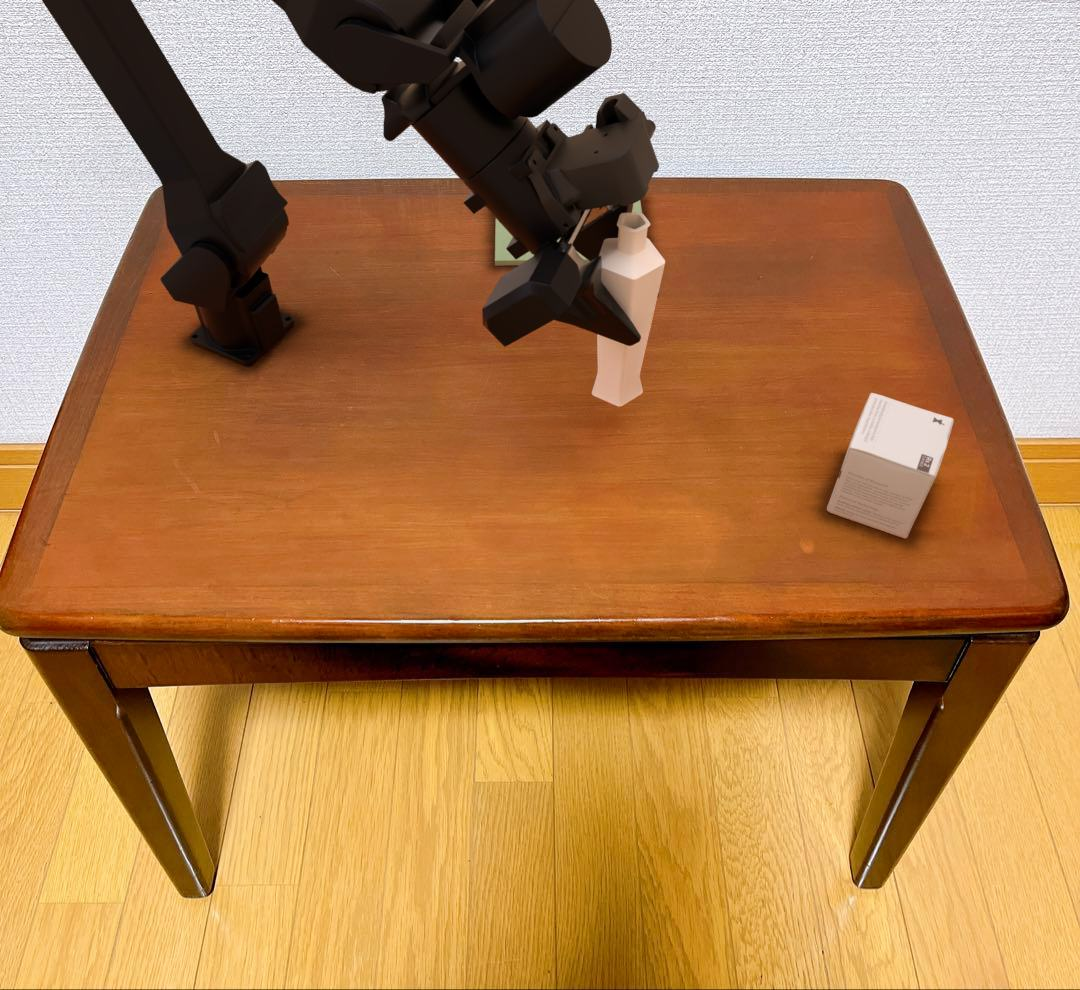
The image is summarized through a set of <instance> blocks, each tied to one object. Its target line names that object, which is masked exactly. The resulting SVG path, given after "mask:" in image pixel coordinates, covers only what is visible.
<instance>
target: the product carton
mask: <svg viewBox="0 0 1080 990" xmlns="http://www.w3.org/2000/svg"><path fill="white" fill-rule="evenodd" d="M954 421H955V420H954V418H953V417H950V416H947V415H944V414H940V413H937V412H933V411H930V410H927V409H924V408H921V407H918V406H915V405H912V404H910V403H909V404H908V403H905V402H902V401H900V400H896V399H894V398H891V397H888V396H885V395H882V394H879V393H875V392H870V393H869V396H868V398H867V400H866V401H865V405H864V407H863V409H862V411H861V414H860V416H859V418H858V421H857V423H856V426H855V429H854V431H853V433H852V436H851V438H850V442H849V445H848V448H847V451H846V453H845V456H844V459H843V462H842V465H841V467H840V470H839V473H838V476H837V479H836V482H835V484H834V487H833V490H832V493H831V495H830V499H829V501H828V503H827V507H826V511H827V512H828V513H830V514H832V515H835V516H838V517H841V518H844V519H847V520H850V521H852V522H856V523H858V524H861V525H864V526H867V527H870V528H873V529H876V530H879V531H882V532H885V533H887V534H891V535H892V536H896V537H899V538H902V539H908V537H909V535H910V533H911V531H912V528H913V526H914V523H915V522H916V520H917V517H918V515H919V513H920V511H921V509H922V507H923V505H924V503H925V501H926V498H927V497H928V494H929V492H930V490H931V488H932V486H933V484H934V482H935V480H936V478H937V476H938V473H939V471H940V467H941V464H942V461H943V459H944V456H945V452H946V449H947V447H948V443H949V439H950V436H951V433H952V429H953V426H954Z"/></svg>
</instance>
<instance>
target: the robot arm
mask: <svg viewBox="0 0 1080 990" xmlns="http://www.w3.org/2000/svg"><path fill="white" fill-rule="evenodd" d="M41 1H42V4H43V5H44V6H45V7H46V9H47V11H48V12H49V14H50V15H51V17H52V19H53V20H54V21H55V23H56V24H57V26H58V27H59V29H60V30H61V32H62V33H63V35H64V37H65V38H66V39H67V40H68V43H69V44H70V46H71V48H72V49H73V50H74V52H75V53H76V54H77V56H78V58H79V59H80V61H81V62H82V64H83V65H84V67H85V68H86V70H87V71H88V73H89V75H90V76H91V77H92V79H93V81H94V82H95V83H96V85H97V87H98V88H99V90H100V91H101V93H102V94H103V96H104V97H105V99H106V100H107V101H108V103H109V104H110V106H111V108H112V109H113V111H114V113H115V114H116V115H117V117H118V119H119V120H120V121H121V123H122V125H123V126H124V127H125V129H126V130H127V132H128V134H129V135H130V136H131V138H132V140H133V141H134V142H135V144H136V146H137V147H138V148H139V151H140V152H141V153H142V154H143V156H144V157H145V159H146V161H147V163H148V164H149V166H150V167H151V168H152V170H153V171H154V173H155V174H156V176H157V177H158V179H159V181H160V182H161V188H162V196H163V205H164V213H165V222H166V228H167V230H168V232H169V234H170V236H171V238H172V240H173V241H174V243H175V246H176V248H177V249H178V252H180V256H179V257H178V258H177V260H176V261H175V262H174V263H173V264H172V265H171V266H170V267H169V268H168V269H167V270H166V271H165V272H164V274H163V275H162V276H160V279H159V280H160V282H161V283H162V285H163V287H164V288H165V289H166V291H167V292H168V294H169V295H170V297H171V298H172V299H173V301H175V302H178V303H183V304H187V305H191V306H194V308H195V311H196V315H197V317H198V320H199V323H200V326H199V327H197V329H196V330H194V331H193V332H192V333H190V335H189V340H190V342H191V344H192V345H195V346H198V347H200V348H203V349H205V350H208V351H210V352H212V353H215V354H217V355H220V356H222V357H225V358H226V359H228V360H231V361H234V362H237V363H238V364H240V365H242V366H251V365H253V364H254V363H255V362H256V361H257V360H258V359H259V358H260V357H261V356H262V355H263V354H264V353H265V352H266V351H267V350H269V348H271V347H272V346H273V345H274V344H275V343H276V342H277V341H278V340H279V339H280V338H281V337H282V336H283V335H284V334H285V333H286V332H287V331H288V330H289V329H290V328H291V327H292V326H293V325H294V324H295V318H294V316H293V315H290V314H288V313H286V312H283V311H281V309H280V306H279V301H278V297H277V294H276V293H274V291H273V287H272V284H271V280H270V276H269V274H268V273H266V272H263V268H262V265H263V264H264V263H265V262H266V261H267V259H268V258H269V257H270V256H271V255H272V254H274V252H275V251H276V250H277V247H278V246H279V245H280V244H281V242H282V241H283V240H284V239H285V237H286V235H287V231H288V227H289V225H290V222H289V216H288V213H287V212H286V209H285V207H286V206H287V205H288V203H289V201H288V200H287V199H286V198H285V197H284V196H283V195H282V194H281V193H280V192H279V190H278V189H277V187H276V186H275V185H274V183H273V181H272V179H271V176H270V174H269V172H268V169H267V167H266V166H265V165H264V164H263V163H262V162H261V161H260V160H253V161H251V162H249V163H245V162H243V161H242V160H241V159H239V158H237V157H235V156H234V155H232V154H230V153H229V152H227V151H225V150H224V149H223V148H222V147H221V146H220V145H219V143H218V142H217V140H216V139H215V137H214V135H213V133H212V132H211V130H210V128H209V127H208V125H207V124H206V122H205V120H204V118H203V117H202V115H201V114H200V112H199V110H198V108H197V107H196V105H195V103H194V102H193V100H192V98H191V97H190V95H189V94H188V91H187V90H186V88H185V87H184V85H183V84H182V82H181V80H180V78H179V77H178V76H177V74H176V72H175V70H174V69H173V67H172V64H170V62H169V60H168V59H167V57H166V55H165V54H164V52H163V51H162V49H161V46H160V45H159V43H158V42H157V40H156V39H155V37H154V36H153V33H152V32H151V30H150V28H149V27H148V26H147V24H146V22H145V20H144V19H143V17H142V16H141V14H140V12H139V10H138V8H137V7H136V5H135V4H134V2H133V0H41ZM271 1H272V2H273V3H274V4H275V5H276V6H277V7H278V8H280V9H281V10H282V11H283V12H284V13H285V15H286V17H287V19H288V20H289V22H290V24H291V26H292V28H293V30H294V31H295V33H296V35H297V36H298V38H299V40H300V42H301V43H302V44H303V46H304V47H305V48H306V49H308V51H310V52H311V53H312V54H313V55H314V56H315V57H316V58H318V59H319V60H320V61H321V62H322V63H323V64H325V66H326V67H328V68H329V69H330V70H331V71H333V72H334V73H335V74H336V75H337V76H338V77H339V78H340V79H342V81H344V82H345V83H347V84H348V85H349V86H351V87H352V88H354V89H357V90H358V91H361V92H363V93H368V94H370V95H371V94H372V95H375V94H376V93H378V92H379V93H380V92H385V93H383V95H382V96H381V103H382V106H383V130H382V131H383V134H382V135H383V138H384V139H385V140H386V141H388V142H393V141H395V140H396V139H397V138H398V137H399V136H400V135H401V134H403V132H405V131H406V130H407V129H409V127H412V128H413V129H414V130H415V131H416V132H417V133H418V134H419V136H420V137H421V138H422V139H423V140H424V141H425V142H426V143H427V144H428V145H429V146H430V148H432V149H433V152H435V153H436V154H437V155H438V156H439V157H440V158H441V160H443V162H444V163H445V164H446V165H447V166H448V167H449V169H451V171H452V172H453V173H454V174H455V175H456V176H457V177H458V178H459V179H460V180H461V182H462V183H463V184H464V185H465V186H466V187H467V189H468V190H469V191H470V192H469V194H468V195H467V196H466V198H465V199H464V201H463V204H464V206H465V207H466V208H467V209H469V211H470V212H471V213H472V214H473V215H475V214H477V213H478V212H479V211H481V210H482V209H483V208H486V209H487V210H488V212H490V213H491V214H492V216H493V217H494V218H495V220H496V219H497V220H498V221H499V222H500V223H501V224H502V225H503V226H504V227H505V229H506V230H507V231H508V232H509V233H510V234H511V235H512V236H513V238H512V239H511V241H510V243H509V245H508V246H507V248H506V249H507V251H508V252H509V253H510V254H511V255H512V256H513V257H514V258H515V259H518V258H520V257H521V256H523V255H524V254H526V253H527V252H529V251H530V252H531V253H532V255H533V254H534V256H533V257H532V258H530V259H528V260H527V261H525V262H524V263H522V264H521V265H516V267H514V268H512V269H510V271H507V272H506V273H505V274H503V275H501V276H500V277H499V279H498V281H497V282H496V284H495V286H494V288H493V290H492V291H491V293H490V294H489V296H488V298H487V300H486V302H485V303H484V305H483V307H482V308H481V310H482V311H481V313H482V314H481V315H482V325H483V326H484V328H485V329H486V330H487V331H488V332H489V333H490V334H491V335H492V336H493V337H494V338H495V339H496V340H497V341H498V342H499V343H500V344H501V345H502V346H503V347H504V348H506V347H508V346H509V345H511V344H513V343H516V342H517V341H519V340H520V339H522V338H524V337H526V336H527V335H529V334H531V333H533V332H535V331H537V330H539V329H541V328H542V327H544V326H545V325H547V324H549V323H551V322H553V321H555V322H559V323H563V324H567V325H570V326H574V327H577V328H579V329H582V330H585V331H588V332H590V333H593V334H596V335H597V334H598V335H601V336H603V337H606V338H609V339H611V340H614V341H616V342H619V343H622V344H624V345H627V346H632V345H634V344H636V343H638V342H640V340H641V335H640V334H639V332H638V331H637V329H636V327H635V326H634V324H633V323H632V321H631V320H630V319H629V317H628V316H627V315H626V313H625V312H624V311H623V309H622V308H621V307H620V305H619V304H618V303H617V302H616V300H615V299H614V298H613V296H612V295H611V294H610V292H609V291H608V290H607V288H606V287H605V286H604V285H603V283H602V281H601V271H602V257H601V256H599V254H600V251H601V248H602V245H603V242H604V240H605V239H608V238H618V231H619V227H618V226H617V222H618V219H619V216H620V214H622V213H632V209H633V203H635V202H637V201H639V200H640V201H641V200H643V198H644V197H646V195H647V193H648V192H649V185H650V182H651V180H652V178H653V176H654V174H655V173H657V172H658V170H659V169H660V163H659V161H658V158H657V155H656V152H655V150H654V147H653V144H652V141H651V140H652V138H653V136H654V134H655V131H656V130H657V126H656V123H655V122H654V121H653V120H651V119H648V118H647V116H646V114H645V111H643V110H642V109H641V108H640V107H639V106H638V105H637V104H636V103H635V102H634V101H633V100H632V99H631V97H629V96H628V94H626V93H625V92H621V93H618V94H613V95H610V96H606V97H604V99H603V101H602V102H601V104H600V106H599V108H598V110H597V112H596V118H595V127H594V125H593V123H590V124H587V125H586V126H585V128H584V129H583V131H582V132H580V133H577V134H574V135H571V136H568V135H567V134H565V133H564V132H563V130H562V129H561V128H560V127H559V126H558V124H556V123H554V122H550V121H549V119H546V120H544V121H542V122H541V123H540V124H539V125H537V126H535V124H534V123H533V122H532V121H531V120H530V118H536V117H538V116H540V115H542V113H544V112H545V111H547V109H549V108H550V107H551V106H553V105H554V104H556V103H557V102H558V101H559V100H561V99H562V98H563V97H564V96H566V95H567V94H568V93H569V92H571V91H572V90H573V89H575V88H576V87H577V86H579V85H580V84H581V83H583V82H584V81H585V80H587V79H588V78H590V76H592V75H593V74H594V73H596V72H597V71H599V70H600V69H601V68H602V67H604V66H605V65H606V64H607V63H608V62H609V61H610V60H611V55H612V51H613V42H612V37H611V31H610V28H609V25H608V23H607V20H606V18H605V16H604V14H603V12H602V10H601V8H600V6H599V5H598V4H597V2H596V1H595V0H271ZM457 58H458V59H460V61H456V59H457ZM558 239H560V240H559V242H558V241H557V240H558ZM575 250H576V251H577V252H578V253H580V254H581V255H582V256H584V257H585V258H586V259H588V260H589V261H590V262H589V263H586V262H585V261H584V260H583V259H582V258H581V257H580V256H579V254H578V253H577V252H576V251H575ZM659 297H660V291H659V292H658V297H657V299H659Z"/></svg>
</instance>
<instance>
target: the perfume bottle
mask: <svg viewBox="0 0 1080 990" xmlns="http://www.w3.org/2000/svg"><path fill="white" fill-rule="evenodd" d="M617 226H618V227H619V231H618V238H608V239H605V240H604V242H603V245H602V248H601V251H600V254H599V256H601V257H602V271H601V281H602V283H603V285H604V286H605V287H606V288H607V290H608V291H609V292H610V294H611V295H612V296H613V298H614V299H615V300H616V302H617V303H618V304H619V305H620V307H621V308H622V309H623V311H624V312H625V313H626V315H627V316H628V317H629V319H630V320H631V321H632V323H633V324H634V326H635V327H636V329H637V331H638V332H639V334H640V335H641V340H640V342H638V343H636V344H634V345H632V346H627V345H624V344H622V343H619V342H616V341H614V340H611V339H609V338H606V337H603V336H601V335H598V334H596V338H597V341H596V342H597V343H596V344H597V345H596V347H597V350H596V351H597V352H596V353H597V374H596V376H595V377H596V378H595V379H594V383H593V386H592V391H591V395H592V396H594V397H595V398H598V399H600V400H603V401H604V402H606V403H609V404H611V405H614V406H615V407H623V406H624V405H626V404H628V403H629V402H631V401H633V400H634V399H636V398H638V397H639V396H641V395H642V394H643V393H644V390H643V389H644V388H643V386H642V380H641V376H640V375H641V372H642V368H643V362H644V357H645V355H646V354H645V353H646V350H647V345H648V340H649V337H650V332H651V327H652V323H653V318H654V314H655V309H656V306H657V300H658V298H659V296H658V292H659V293H660V287H661V284H662V279H663V275H664V270H665V265H666V260H665V258H664V257H663V255H662V254H661V253H660V252H659V250H658V248H656V246H655V244H653V242H652V241H651V240H650V238H648V230H649V229H648V228H649V227H651V222H650V221H649V219H648V218H647V216H645V215H644V213H643V212H642V213H639V212H637V213H622V214H620V216H619V219H618V222H617ZM657 297H658V298H657Z"/></svg>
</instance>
